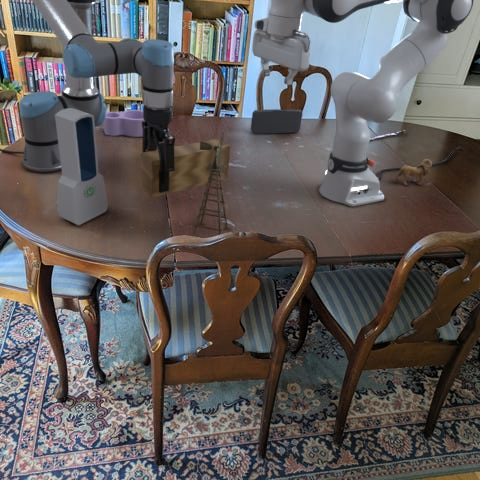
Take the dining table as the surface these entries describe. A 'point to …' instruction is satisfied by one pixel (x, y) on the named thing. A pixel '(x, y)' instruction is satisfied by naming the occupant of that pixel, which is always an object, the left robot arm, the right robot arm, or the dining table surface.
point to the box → (183, 167)
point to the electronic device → (79, 168)
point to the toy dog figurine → (415, 171)
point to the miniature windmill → (215, 168)
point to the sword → (386, 135)
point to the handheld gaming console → (276, 121)
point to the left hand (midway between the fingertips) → (157, 186)
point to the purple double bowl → (124, 123)
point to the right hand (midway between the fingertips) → (276, 79)
